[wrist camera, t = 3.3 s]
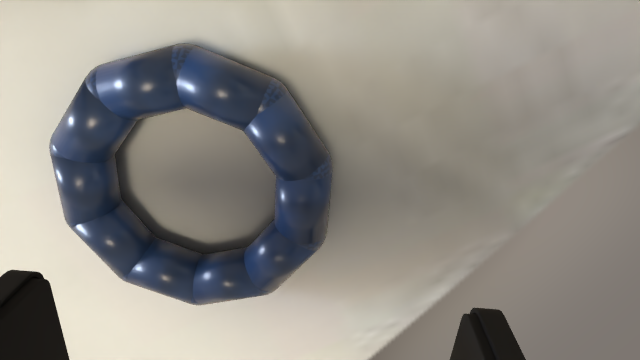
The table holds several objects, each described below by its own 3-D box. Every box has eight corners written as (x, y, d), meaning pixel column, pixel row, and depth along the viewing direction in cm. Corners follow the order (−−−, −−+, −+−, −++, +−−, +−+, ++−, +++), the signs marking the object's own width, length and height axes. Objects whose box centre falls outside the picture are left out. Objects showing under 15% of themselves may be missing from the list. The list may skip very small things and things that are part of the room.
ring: (343, 52, 14) (342, 63, 12) (320, 293, 19) (318, 327, 17) (49, 27, 14) (7, 35, 13) (97, 272, 19) (71, 304, 17)
